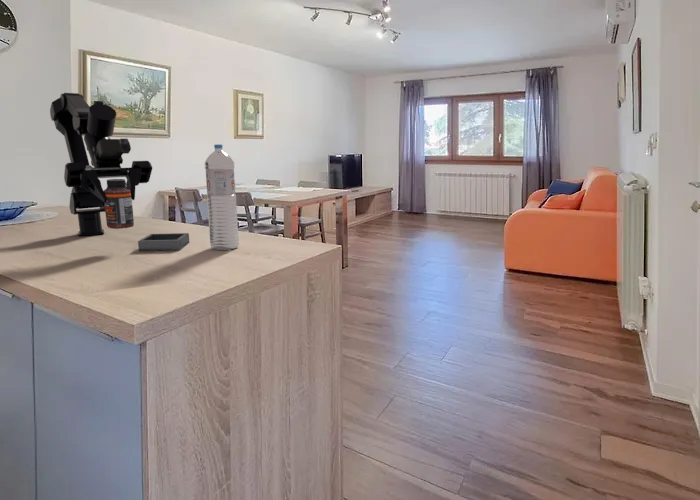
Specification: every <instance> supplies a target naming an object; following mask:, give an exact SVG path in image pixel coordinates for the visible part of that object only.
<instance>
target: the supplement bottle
mask: <svg viewBox="0 0 700 500" xmlns="http://www.w3.org/2000/svg"><path fill="white" fill-rule="evenodd" d="M126 182H127V181H126V178H108V179H106V188H105V189H103V191H104V193H105V196H106V202H104V204H105V212H104V213H105V220H106V227H107V228H109V229H115V230H119V229H129V228H132V227H134V225H135V222H134V219H135V218H134V211H133V200H132V197H131V191H130V189H128V188H127V187H126Z"/></svg>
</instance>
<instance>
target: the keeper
mask: <svg viewBox="0 0 700 500" xmlns="http://www.w3.org/2000/svg"><path fill="white" fill-rule="evenodd" d="M188 244H190V233H189V232H181V233H180V232H179V233H177V232H176V233H150V234H148V235H146V236H145V237H143V238H141V239H139V240H137V246H138V252H165V251H166V252H169V251H182V249H183V248H184V247H186V246H187V245H188Z"/></svg>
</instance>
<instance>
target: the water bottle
mask: <svg viewBox="0 0 700 500" xmlns="http://www.w3.org/2000/svg"><path fill="white" fill-rule="evenodd" d="M223 146H224V145H223V144H222V143H221V144H214V145H213V147H214V151H213V152H211V153H210V154H209V156H207V158H206V160H205V161H204V169H205V181H206V193H207V194H206V199H207V200H206V201H207V204H206V205H207V215H208V216H207V217H208V231H209V244H210V249H212V250H213V251H230V250H235V249H237V248H239V245H240V243H239V241H240V240H239V228H238V227H239V226H238V225H239V224H238V209H237V207H238V206H237V195H236V181H235V162H234V160H233V158H232V157H231V156H230V155H229V154H228V153H226V152H225V151H224V150H223Z"/></svg>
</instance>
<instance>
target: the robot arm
mask: <svg viewBox="0 0 700 500" xmlns="http://www.w3.org/2000/svg"><path fill="white" fill-rule="evenodd" d="M49 115H50V119H51V121H53V122H54V126H55V129H56V130H57V131H58V132H59V133H60V134H61V135H63V137H64V141H65V144H66V149H67V152H68V157H69V162H67V163H66V164H65V165H64V175H63V179H64V183H65V186H66V187H68V188H71V193H70V197H69V210H70V214H72V215H75V216H76V215H77V220H78V228H79V231H78V233H77V236H78V237H81V236H95V235H96V236H97V235H104V234H105V230H104V228H103V225H102V219H101V218H102V217H101V213H103V212H104V213H105V204H104V202H106V196H105V193H104V189H103V187H102V182H101V180H100V179H115V178H125V179H126V181H125V182H126V187H127V188H128V189H130V191H131V197H132V201H135V199H136V186H139V184H147V183H149V182H150V179H151V176H152V175H151V174H152V171H153V165H152V163H151V162H150V161H149V160H132V163H131V167H122V166H121V165H122V164H123V162H124V159H123V157H122V156H123V155H125V154H129V153H130V151H131V150H132V149H131V144H130V141H129V139H128V138H114V139H113V138H110V137H112V136H113V134H114V131H115V124H116V119H117V110H115V109H114V108H113V107H111V106H110V105H108V104H105V103H104V101H103V100H102V101H101V100H93V104H92V105H89V104H88V103H87V101H85V99H84V96H83V94H80V93H77V92H64V93H61V94H60V97H59V98H57V99H55V100H52V102H51V104H50V108H49ZM87 152H88V153H87ZM88 154H89V157H88ZM89 158H90V161H89ZM90 164H91V165H90Z"/></svg>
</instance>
